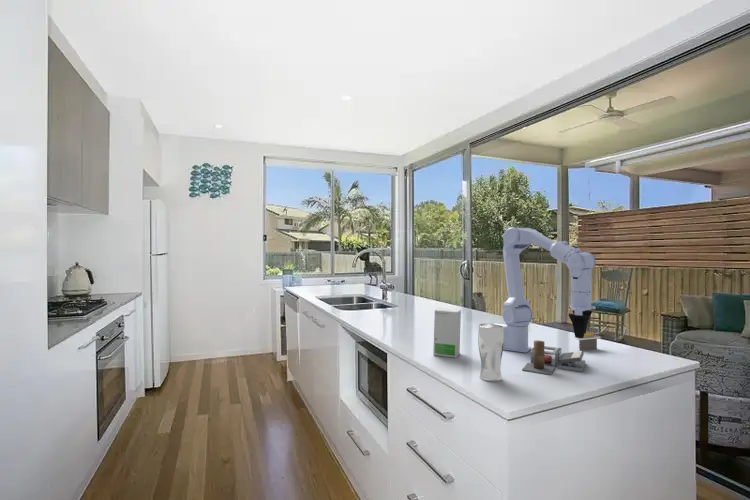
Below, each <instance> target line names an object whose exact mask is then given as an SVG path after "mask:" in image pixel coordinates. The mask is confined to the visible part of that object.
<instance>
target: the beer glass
mask: <svg viewBox="0 0 750 500" xmlns="http://www.w3.org/2000/svg"><path fill="white" fill-rule="evenodd" d="M477 339H478V340H477V341H478V345H477V346H478V351H479V357H480V373H479V378H480V380H483V381H486V382H492V383H495V382H500V381H502V380H503V374H502V371H501V364H502V363H501V362H502V358H503V353H504V352H503V351H504V350H503V346H504V334H503V326H502V324H498V323H492V322H491V323H489V322H488V323H487V322H486V323H480V324H478V335H477Z"/></svg>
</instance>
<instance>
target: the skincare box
mask: <svg viewBox="0 0 750 500" xmlns="http://www.w3.org/2000/svg"><path fill="white" fill-rule="evenodd" d="M461 315H462V309H455V308H454V309H453V308H445V307H438V308H437V309H434V321H433V322H434V323H433V325H434V326H433V356H440V357H447V358H453V359H455V358H457V357H458V356H459V355H460V353H461V350H460V348H461V322H462V321H461V320H462V316H461Z"/></svg>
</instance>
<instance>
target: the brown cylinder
mask: <svg viewBox="0 0 750 500" xmlns="http://www.w3.org/2000/svg"><path fill="white" fill-rule="evenodd" d="M544 346H545V341H544V340H533V347H534V363H533V364H534V368H535V369H544V355H545V354H544V351H545V349H544Z"/></svg>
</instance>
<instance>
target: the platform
mask: <svg viewBox="0 0 750 500" xmlns="http://www.w3.org/2000/svg"><path fill="white" fill-rule="evenodd" d="M594 333H595V332H590V331H589V330H588V331H586V333H585V334H584V337H583V338H576V337H575V335H574V337H573V338H574V339H575V340H578V341H579V343H578V349H579V351H589V350H597V349H598V339H601V338H602V337H601V335H597V334H595V335H594Z"/></svg>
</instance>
